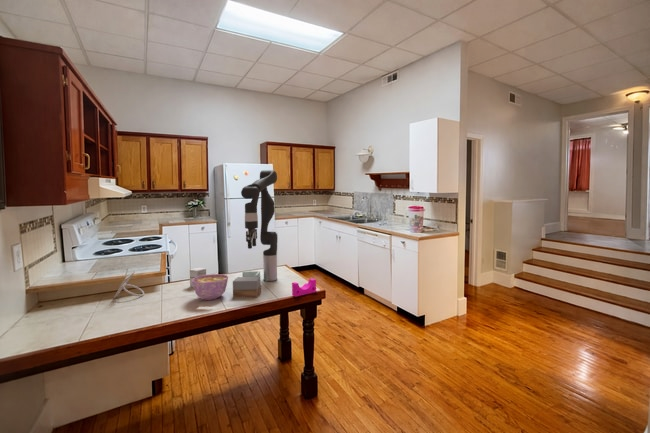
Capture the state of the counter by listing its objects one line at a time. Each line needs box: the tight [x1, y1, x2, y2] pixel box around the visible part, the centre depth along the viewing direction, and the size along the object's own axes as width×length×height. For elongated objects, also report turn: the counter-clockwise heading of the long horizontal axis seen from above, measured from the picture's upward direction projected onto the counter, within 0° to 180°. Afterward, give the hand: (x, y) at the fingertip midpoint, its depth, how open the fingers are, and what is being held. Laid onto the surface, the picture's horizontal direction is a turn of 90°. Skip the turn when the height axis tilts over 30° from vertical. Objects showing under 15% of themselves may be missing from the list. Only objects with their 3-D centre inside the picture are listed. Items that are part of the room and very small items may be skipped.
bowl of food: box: [192, 273, 229, 301], centre depth 178 cm, size 20×20×12 cm
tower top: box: [232, 276, 262, 291], centre depth 182 cm, size 10×14×5 cm
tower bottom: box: [232, 285, 262, 299], centre depth 182 cm, size 10×14×5 cm
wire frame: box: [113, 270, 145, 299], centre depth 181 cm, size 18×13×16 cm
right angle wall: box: [242, 270, 261, 278], centre depth 207 cm, size 12×12×8 cm
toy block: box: [291, 278, 317, 298], centre depth 186 cm, size 15×6×8 cm, turn 128°
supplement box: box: [189, 267, 207, 289], centre depth 199 cm, size 7×7×13 cm
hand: (252, 247), depth 183 cm, fingers open, 8 cm apart
